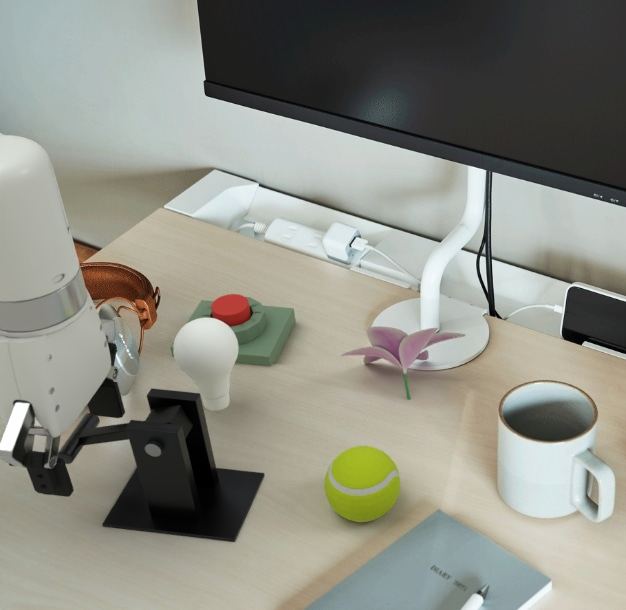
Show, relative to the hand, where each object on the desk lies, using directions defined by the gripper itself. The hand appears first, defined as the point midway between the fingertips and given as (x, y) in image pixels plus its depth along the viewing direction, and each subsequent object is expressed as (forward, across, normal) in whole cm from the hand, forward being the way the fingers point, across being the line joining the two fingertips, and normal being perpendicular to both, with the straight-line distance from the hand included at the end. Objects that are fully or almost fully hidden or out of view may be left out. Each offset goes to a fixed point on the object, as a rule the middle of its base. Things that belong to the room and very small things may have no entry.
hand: (82, 451), depth 82 cm
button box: (+6, -24, +5) cm, 25 cm away
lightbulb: (+6, -13, +7) cm, 16 cm away
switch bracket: (+6, 0, +9) cm, 10 cm away
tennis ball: (+5, -2, +25) cm, 25 cm away
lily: (+6, -20, +25) cm, 32 cm away
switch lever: (-2, 0, +5) cm, 5 cm away
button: (+2, -24, +5) cm, 24 cm away
